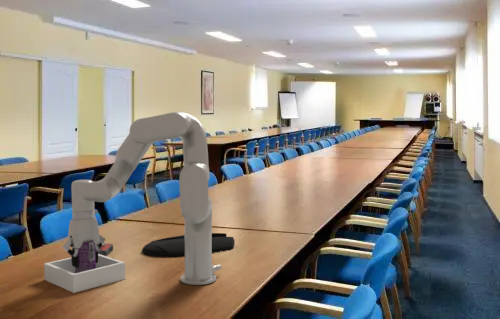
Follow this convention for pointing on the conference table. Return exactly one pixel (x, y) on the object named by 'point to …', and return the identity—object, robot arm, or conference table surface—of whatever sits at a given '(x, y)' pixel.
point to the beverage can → (86, 257)
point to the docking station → (177, 245)
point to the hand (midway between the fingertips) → (85, 264)
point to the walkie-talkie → (105, 249)
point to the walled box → (84, 274)
